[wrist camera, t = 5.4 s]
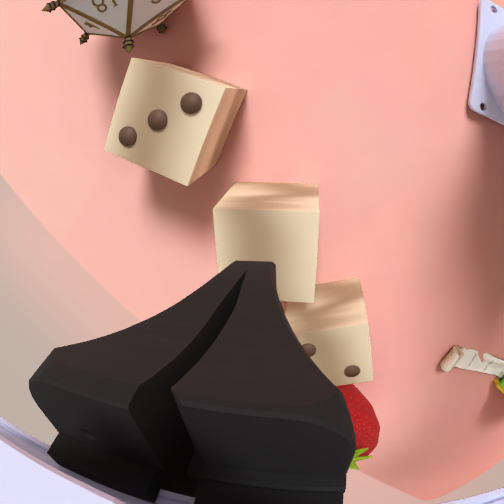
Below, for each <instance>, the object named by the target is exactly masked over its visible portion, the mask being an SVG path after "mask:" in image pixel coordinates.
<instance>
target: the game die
mask: <svg viewBox="0 0 504 504" xmlns="http://www.w3.org/2000/svg"><path fill="white" fill-rule="evenodd" d="M186 1H187V0H57V1H56V2H55V1H52V2H51V3H47V5H46V6H45V7H44V9H43V10H42V11H47V12H51V11H52V10H55V9H56V8H57V7H59V6H60V7H61V8H62V9H63V10H64V11H65V12H66V13H67V14H68V15H69V16H70V17H71V18H72V19H73V20H74V21H75V22H76V23H77V25H78V26H79V27H80V28H81V29H82V30H83V31H84V32H85V33H84V34H83V35H81V38H79V39H80V45H81V44H83V43H85V42H87V39H89V35H101V36H110V37H118V38H124V39H125V41H124V42H123V44H124V46H123V48H124V49H125V50H126V51H127V52H128V53H129V52H130V51H131V49H132V48H133V47H134V45H133V43H134V42H133V40H132V37H133V36H135V35H138V34H140V33H142V32H144V31H147V30H149V29H151V28H154V27H156V26H157V29H158V30H159V33H165V32H166V28H167V27H165V24H162V22H164V21H165V20H166V19H167V18H168V17H169V16H170V15H171V14H172V13H173V12H175V11H176V10H177V9H178V8H179V7H180V6H181V5H183V4H184V3H185V2H186Z"/></svg>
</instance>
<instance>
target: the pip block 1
mask: <svg viewBox="0 0 504 504" xmlns="http://www.w3.org/2000/svg"><path fill="white" fill-rule="evenodd" d="M246 92H247V90H246V89H244V88H241V87H239V86H236V85H233V84H231V83H228V82H225V81H223V80H220V79H217V78H214V77H212V76H209V75H206V74H203V73H200V72H197V71H194V70H191V69H188V68H185V67H182V66H179V65H175V64H172V63H166V62H160V61H153V60H146V59H139V58H131V61H130V64H129V67H128V70H127V73H126V76H125V79H124V82H123V85H122V88H121V91H120V94H119V97H118V101H117V104H116V107H115V111H114V114H113V118H112V121H111V125H110V129H109V133H108V136H107V140H106V144H105V149H104V151H107V152H109V153H111V154H114V155H116V156H119V157H121V158H123V159H126V160H128V161H130V162H133V163H135V164H137V165H140V166H142V167H144V168H147V169H149V170H151V171H153V172H156V173H158V174H160V175H163V176H165V177H167V178H169V179H172V180H174V181H176V182H178V183H181V184H183V185H185V186H189V185H190V184H191V183H193V182H194V181H195V180H196V179H198V178H199V177H200V176H202V175H203V174H204V173H206V172H207V171H208V170H210V169H211V168H212V167H214V166H215V165H216V164H217V161H218V159H219V156H220V154H221V151H222V149H223V146H224V144H225V141H226V139H227V136H228V134H229V132H230V129H231V127H232V124H233V122H234V120H235V117H236V115H237V113H238V110H239V108H240V106H241V103H242V101H243V99H244V96H245V94H246Z"/></svg>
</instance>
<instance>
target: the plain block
mask: <svg viewBox="0 0 504 504" xmlns="http://www.w3.org/2000/svg"><path fill="white" fill-rule="evenodd" d="M213 220H214V231H215V242H216V253H217V264H218V274H219V273H220V272H221V271H222V270H224V269H225V268H226V267H227V266H229V265H230V264H231V263H233V262H234V261H236V260H238V261H270V262H273V263H274V264H275V265H276V285H277V293H278V297H279V300H280V301H290V302H307V303H314V294H315V281H316V267H317V251H318V233H319V193H318V184H298V183H251V182H235V183H234V185H233V186H232V187H231V188H230V189H229V190H228V192H227V193H226V194H225V195H224V196H223V197H222V199H221V200H220V201H219V202H218V203H217V204H216V206H215V207H214V208H213Z"/></svg>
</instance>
